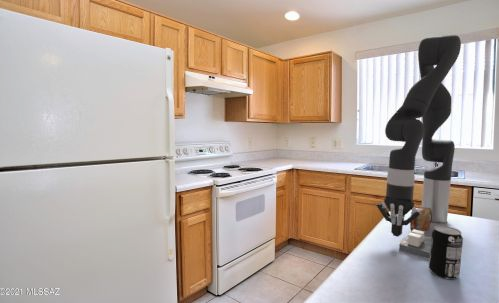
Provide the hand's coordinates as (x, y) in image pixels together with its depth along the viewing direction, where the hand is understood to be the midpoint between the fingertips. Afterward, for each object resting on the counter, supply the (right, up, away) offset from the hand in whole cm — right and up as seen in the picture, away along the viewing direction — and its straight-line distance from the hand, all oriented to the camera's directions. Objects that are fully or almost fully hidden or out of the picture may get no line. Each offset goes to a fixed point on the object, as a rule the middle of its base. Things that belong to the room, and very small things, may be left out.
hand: (396, 235), depth 88 cm
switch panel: (+8, -4, -2) cm, 9 cm away
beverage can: (+4, -5, -16) cm, 17 cm away
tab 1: (+6, -1, -1) cm, 7 cm away
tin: (+16, -3, +14) cm, 21 cm away
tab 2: (+4, -2, -3) cm, 5 cm away
